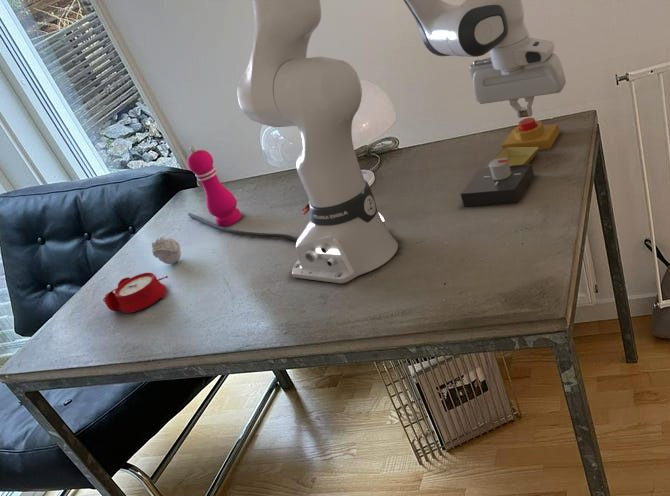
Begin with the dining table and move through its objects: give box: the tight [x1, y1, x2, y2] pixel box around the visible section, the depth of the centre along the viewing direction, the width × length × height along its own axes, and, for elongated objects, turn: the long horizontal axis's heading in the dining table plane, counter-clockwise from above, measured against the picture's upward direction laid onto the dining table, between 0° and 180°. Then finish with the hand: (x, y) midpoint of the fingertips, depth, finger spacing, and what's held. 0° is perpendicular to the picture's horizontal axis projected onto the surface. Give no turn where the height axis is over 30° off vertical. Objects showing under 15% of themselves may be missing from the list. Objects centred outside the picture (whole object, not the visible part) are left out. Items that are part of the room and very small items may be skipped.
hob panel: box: [460, 163, 535, 208], centre depth 154 cm, size 12×11×3 cm
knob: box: [488, 158, 511, 180], centre depth 152 cm, size 4×4×3 cm
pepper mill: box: [186, 144, 243, 228], centre depth 180 cm, size 7×7×20 cm
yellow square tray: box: [487, 147, 539, 168], centre depth 163 cm, size 9×9×2 cm
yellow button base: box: [501, 119, 560, 151], centre depth 169 cm, size 11×8×4 cm
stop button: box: [518, 117, 536, 131], centre depth 167 cm, size 4×4×2 cm
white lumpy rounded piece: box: [151, 236, 182, 265], centre depth 173 cm, size 6×7×7 cm
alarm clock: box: [102, 272, 168, 314], centre depth 162 cm, size 10×6×15 cm
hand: (525, 116), depth 166 cm, fingers closed
